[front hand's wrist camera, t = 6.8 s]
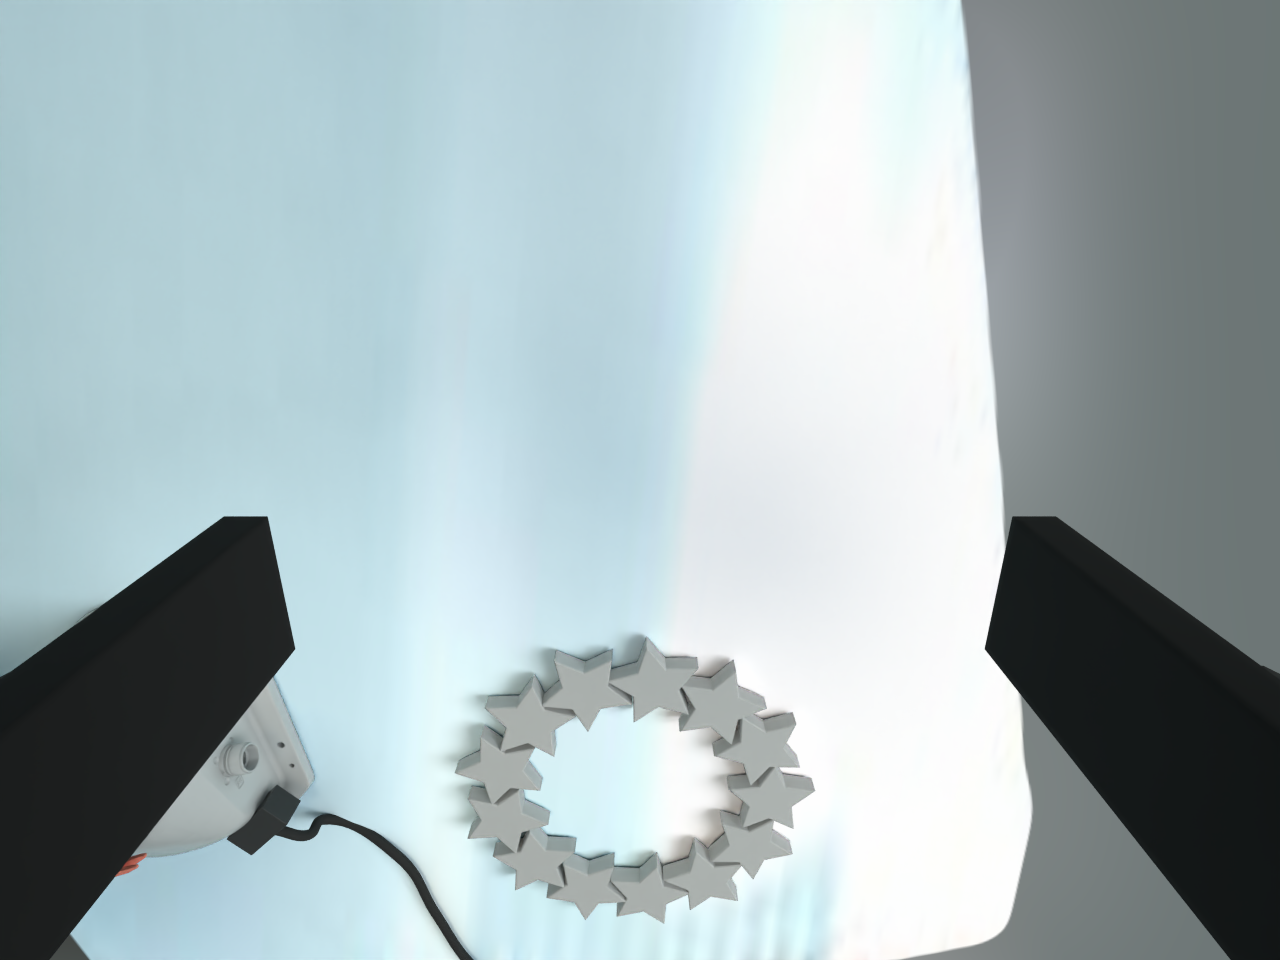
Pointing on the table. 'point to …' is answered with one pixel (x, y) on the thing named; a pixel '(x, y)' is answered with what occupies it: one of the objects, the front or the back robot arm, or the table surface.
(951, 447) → the table surface
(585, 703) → the decorative wreath
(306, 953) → the table surface
